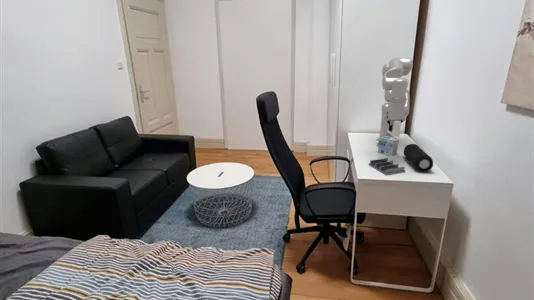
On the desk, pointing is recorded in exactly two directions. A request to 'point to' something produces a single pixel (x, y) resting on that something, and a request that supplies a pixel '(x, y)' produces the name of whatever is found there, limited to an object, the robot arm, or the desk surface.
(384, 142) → the light bulb box
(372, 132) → the desk surface
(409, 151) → the portable speaker
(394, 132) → the white block
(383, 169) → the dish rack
